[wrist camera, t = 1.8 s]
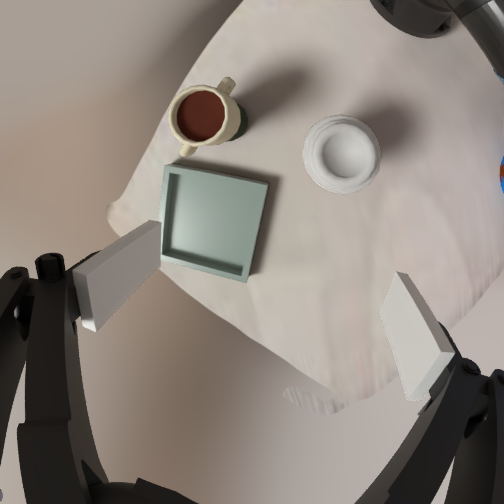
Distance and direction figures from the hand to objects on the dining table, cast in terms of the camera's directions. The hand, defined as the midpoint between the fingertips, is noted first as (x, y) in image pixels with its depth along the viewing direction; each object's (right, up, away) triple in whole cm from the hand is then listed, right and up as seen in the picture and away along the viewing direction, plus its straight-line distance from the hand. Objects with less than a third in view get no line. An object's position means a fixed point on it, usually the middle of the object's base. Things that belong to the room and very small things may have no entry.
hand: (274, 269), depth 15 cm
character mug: (-5, +20, +24) cm, 32 cm away
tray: (-8, +6, +30) cm, 32 cm away
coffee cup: (+11, +16, +23) cm, 30 cm away
